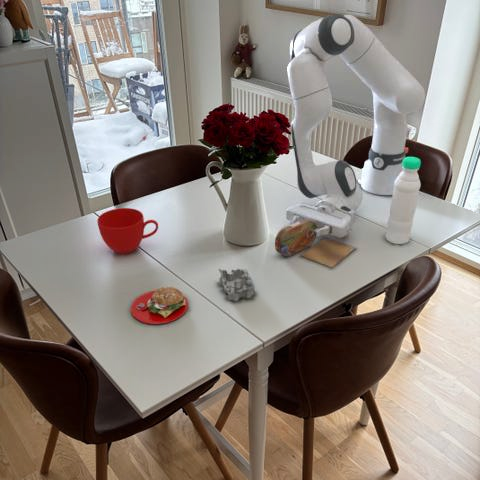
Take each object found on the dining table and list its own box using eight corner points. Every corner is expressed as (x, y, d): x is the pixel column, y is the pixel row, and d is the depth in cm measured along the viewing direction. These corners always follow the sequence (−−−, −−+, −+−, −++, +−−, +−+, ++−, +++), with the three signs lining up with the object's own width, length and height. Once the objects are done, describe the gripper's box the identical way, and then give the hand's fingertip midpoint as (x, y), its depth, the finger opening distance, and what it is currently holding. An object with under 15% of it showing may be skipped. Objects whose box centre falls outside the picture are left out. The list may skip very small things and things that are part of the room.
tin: (280, 260, 142) (281, 234, 137) (272, 256, 144) (273, 230, 139) (317, 243, 150) (319, 218, 145) (309, 239, 152) (311, 214, 147)
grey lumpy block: (217, 280, 134) (217, 267, 132) (245, 276, 136) (244, 263, 133) (228, 303, 125) (227, 289, 123) (256, 298, 127) (256, 284, 125)
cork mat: (325, 238, 152) (325, 237, 152) (355, 249, 146) (355, 248, 146) (301, 256, 144) (301, 255, 143) (331, 268, 138) (331, 266, 138)
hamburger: (161, 284, 133) (159, 265, 129) (199, 305, 125) (198, 285, 122) (119, 309, 124) (115, 289, 120) (157, 332, 116) (154, 312, 113)
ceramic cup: (159, 258, 144) (155, 227, 138) (99, 260, 143) (93, 229, 137) (162, 236, 154) (158, 206, 149) (106, 238, 154) (101, 208, 148)
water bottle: (407, 234, 154) (422, 154, 139) (411, 245, 148) (428, 163, 134) (383, 233, 154) (396, 153, 140) (386, 244, 148) (401, 163, 134)
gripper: (301, 194, 159) (275, 209, 150) (359, 212, 148) (334, 230, 139) (299, 212, 162) (274, 228, 154) (356, 231, 151) (332, 249, 143)
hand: (303, 229), depth 146 cm, fingers open, 7 cm apart
